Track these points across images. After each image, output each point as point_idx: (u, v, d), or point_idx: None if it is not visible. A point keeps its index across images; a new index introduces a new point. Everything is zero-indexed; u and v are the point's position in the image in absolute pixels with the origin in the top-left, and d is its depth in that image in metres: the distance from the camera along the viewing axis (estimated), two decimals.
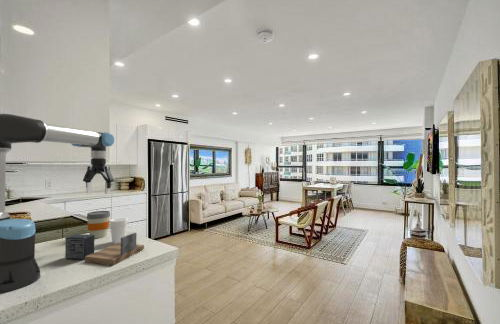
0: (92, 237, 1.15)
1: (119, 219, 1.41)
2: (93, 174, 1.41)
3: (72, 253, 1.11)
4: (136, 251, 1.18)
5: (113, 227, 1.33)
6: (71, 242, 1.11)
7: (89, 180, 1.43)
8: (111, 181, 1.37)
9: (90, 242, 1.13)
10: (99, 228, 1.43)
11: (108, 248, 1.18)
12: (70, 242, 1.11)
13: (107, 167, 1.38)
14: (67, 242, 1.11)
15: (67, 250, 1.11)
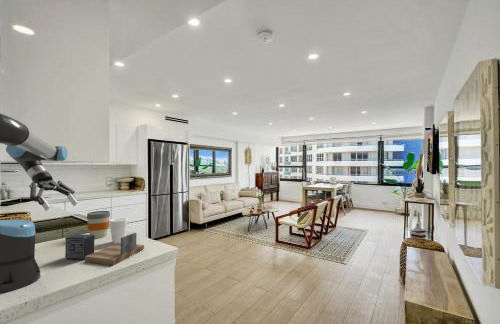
0: (92, 237, 1.15)
1: (119, 219, 1.41)
2: None
3: (72, 253, 1.11)
4: (136, 251, 1.18)
5: (113, 227, 1.33)
6: (71, 242, 1.11)
7: None
8: None
9: (90, 242, 1.13)
10: (99, 228, 1.43)
11: (108, 248, 1.18)
12: (70, 242, 1.11)
13: None
14: (67, 242, 1.11)
15: (67, 250, 1.11)
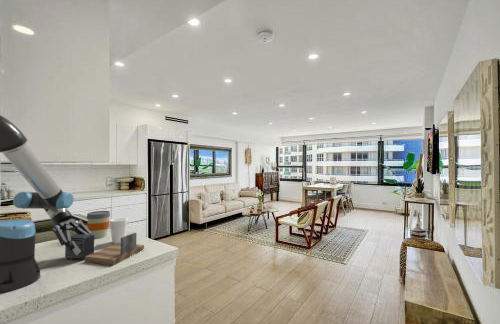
0: (92, 237, 1.15)
1: (119, 219, 1.41)
2: None
3: (72, 253, 1.10)
4: (136, 251, 1.18)
5: (113, 227, 1.33)
6: None
7: None
8: (90, 234, 1.21)
9: (90, 242, 1.13)
10: (99, 228, 1.43)
11: (108, 248, 1.18)
12: None
13: None
14: None
15: (66, 250, 1.11)
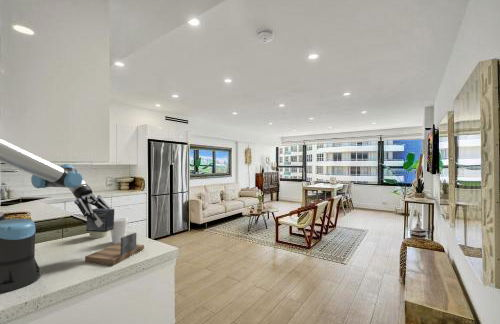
0: (112, 211, 1.19)
1: (119, 219, 1.41)
2: None
3: (93, 226, 1.14)
4: (136, 251, 1.18)
5: None
6: None
7: None
8: None
9: (111, 215, 1.17)
10: None
11: (108, 248, 1.18)
12: None
13: None
14: None
15: (88, 222, 1.15)
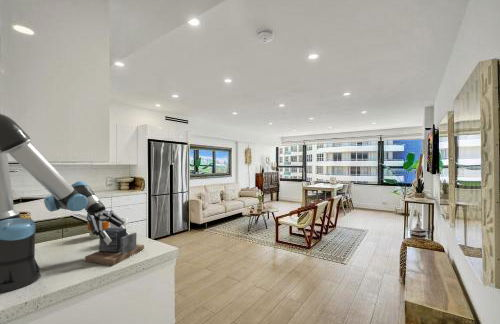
0: (124, 231, 1.16)
1: None
2: None
3: (105, 246, 1.13)
4: (136, 251, 1.18)
5: (113, 227, 1.33)
6: None
7: None
8: None
9: (122, 235, 1.15)
10: None
11: None
12: None
13: None
14: None
15: (101, 243, 1.13)
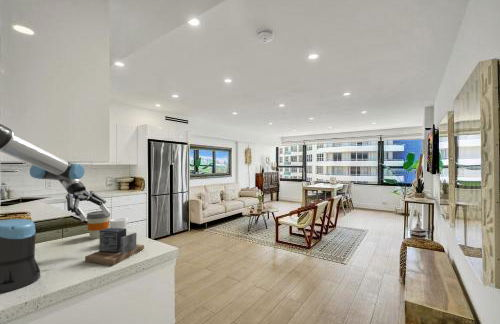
0: (124, 231, 1.16)
1: (119, 219, 1.41)
2: None
3: (105, 246, 1.13)
4: (136, 251, 1.18)
5: (113, 227, 1.33)
6: (105, 235, 1.13)
7: None
8: (105, 202, 1.30)
9: (122, 235, 1.15)
10: (99, 228, 1.43)
11: None
12: (103, 235, 1.13)
13: None
14: (101, 235, 1.14)
15: (101, 243, 1.13)
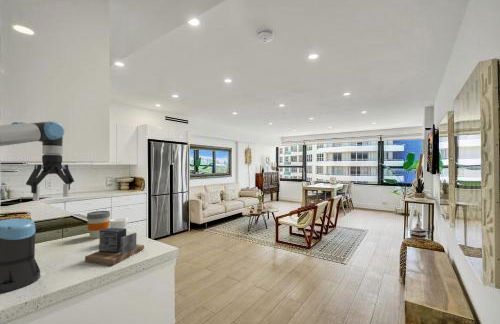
0: (124, 231, 1.16)
1: (119, 219, 1.41)
2: None
3: (105, 246, 1.13)
4: (136, 251, 1.18)
5: (113, 227, 1.33)
6: (105, 235, 1.13)
7: None
8: (72, 181, 1.23)
9: (122, 235, 1.15)
10: (99, 228, 1.43)
11: None
12: (103, 235, 1.13)
13: None
14: (101, 235, 1.14)
15: (101, 243, 1.13)
